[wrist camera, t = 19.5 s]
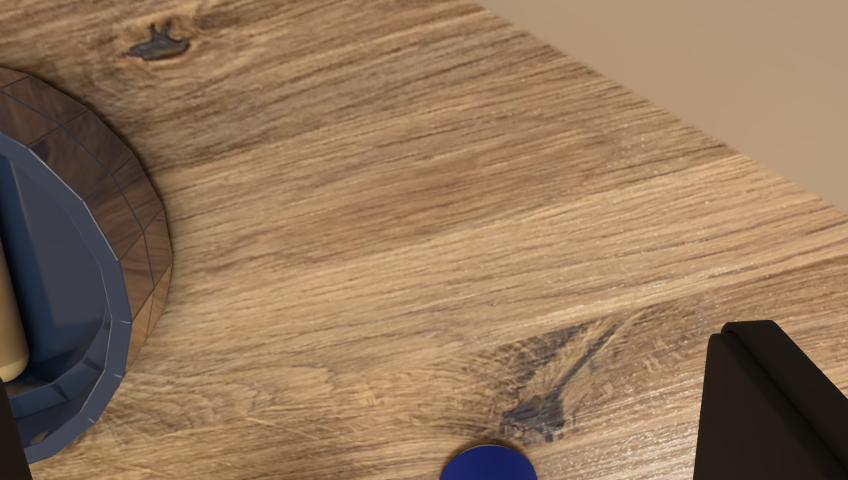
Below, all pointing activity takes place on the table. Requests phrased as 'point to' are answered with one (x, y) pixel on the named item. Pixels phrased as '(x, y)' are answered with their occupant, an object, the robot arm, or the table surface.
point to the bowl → (74, 259)
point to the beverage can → (489, 465)
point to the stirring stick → (10, 328)
